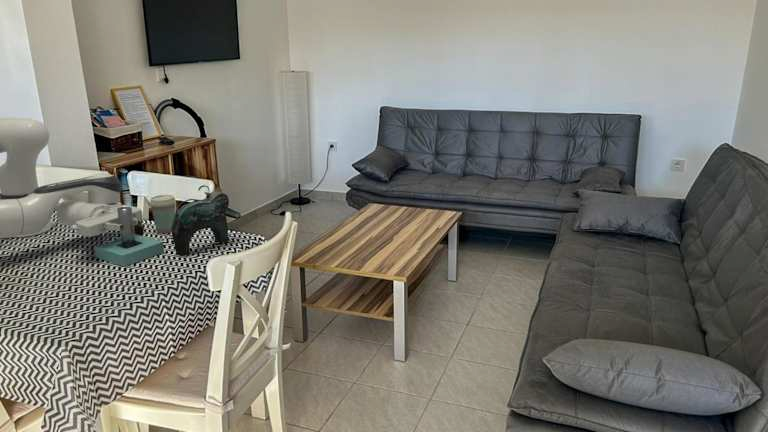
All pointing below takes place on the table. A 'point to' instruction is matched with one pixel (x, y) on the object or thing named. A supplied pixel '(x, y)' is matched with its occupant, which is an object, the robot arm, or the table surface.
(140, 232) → the hand tool
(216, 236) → the ceramic cat
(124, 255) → the socket block
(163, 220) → the coffee cup
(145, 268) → the table surface
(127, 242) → the steel pin
